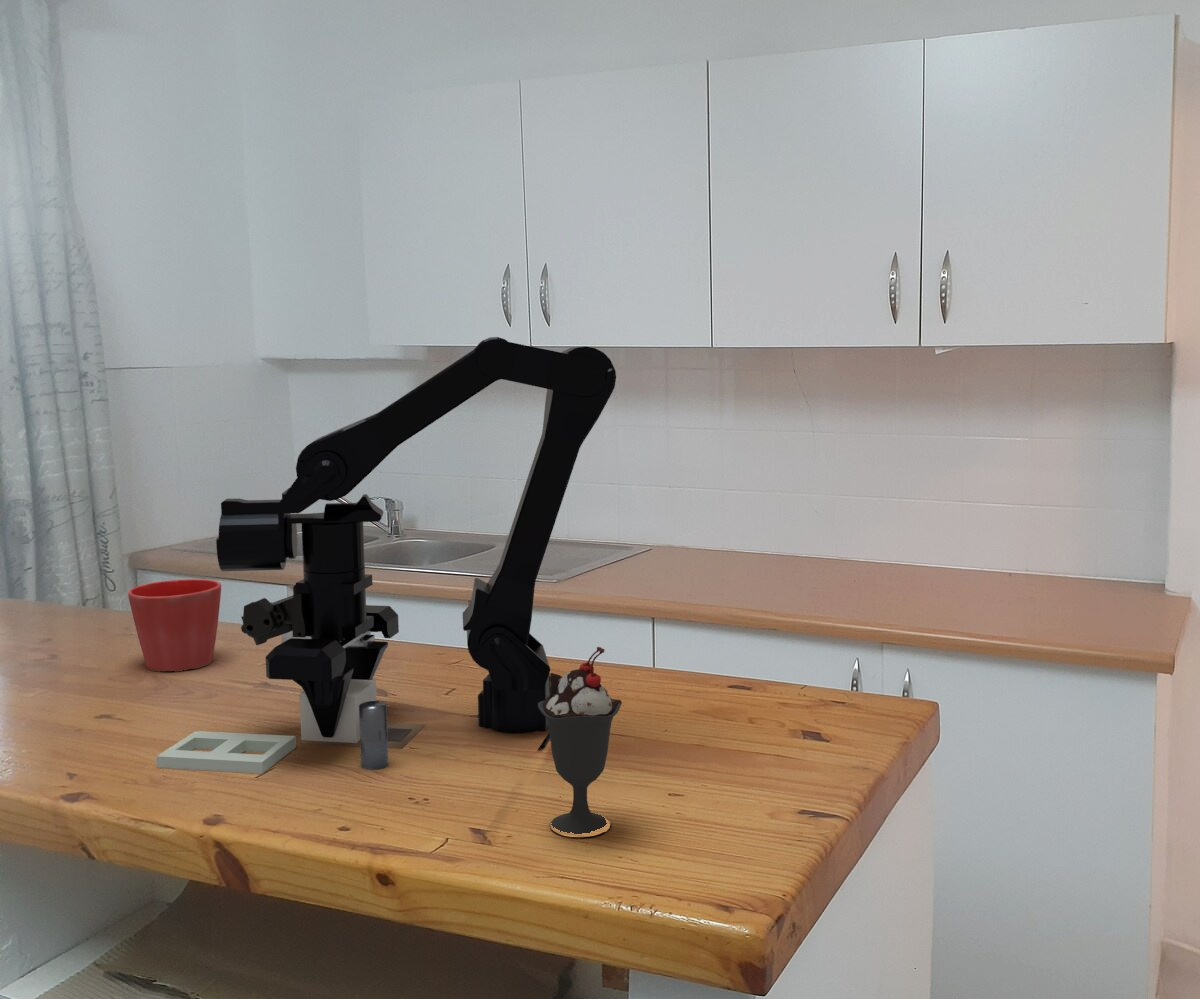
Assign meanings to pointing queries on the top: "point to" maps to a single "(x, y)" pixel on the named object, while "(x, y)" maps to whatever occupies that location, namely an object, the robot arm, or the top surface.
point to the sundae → (579, 738)
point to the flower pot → (176, 622)
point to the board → (396, 736)
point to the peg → (373, 735)
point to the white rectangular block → (349, 716)
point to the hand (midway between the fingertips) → (340, 727)
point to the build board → (227, 752)
